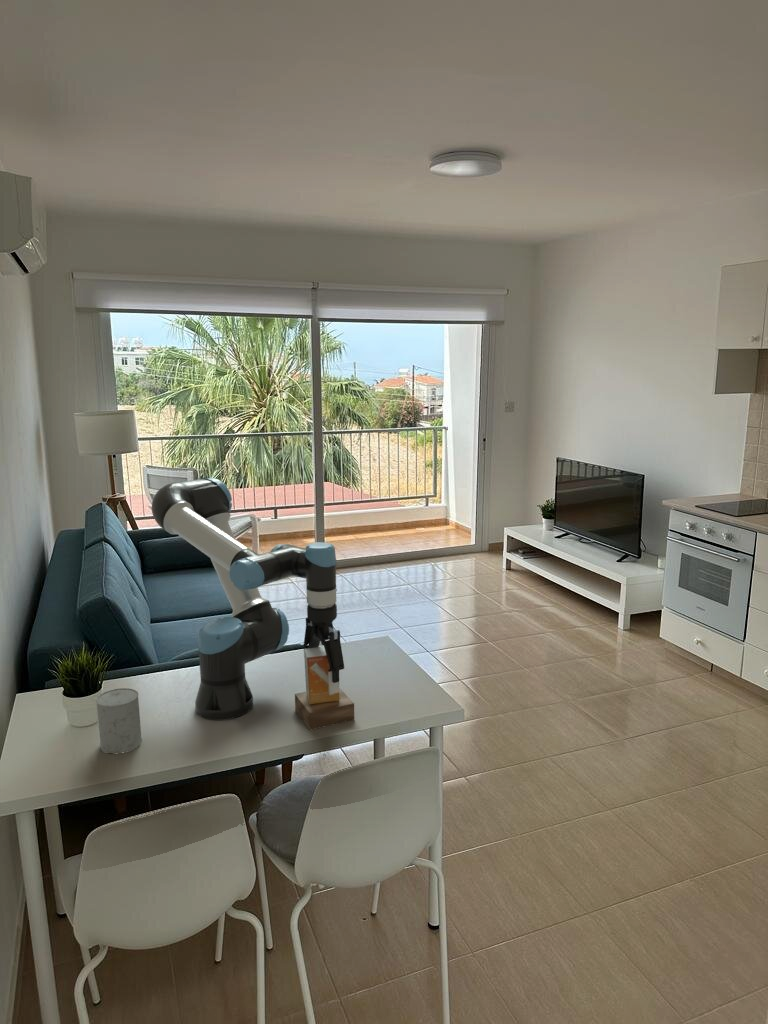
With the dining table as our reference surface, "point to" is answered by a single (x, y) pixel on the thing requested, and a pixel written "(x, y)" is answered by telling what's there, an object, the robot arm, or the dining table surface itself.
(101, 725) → the grey marble cylinder
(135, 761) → the dining table surface
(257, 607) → the robot arm
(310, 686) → the small box
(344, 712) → the walnut block
